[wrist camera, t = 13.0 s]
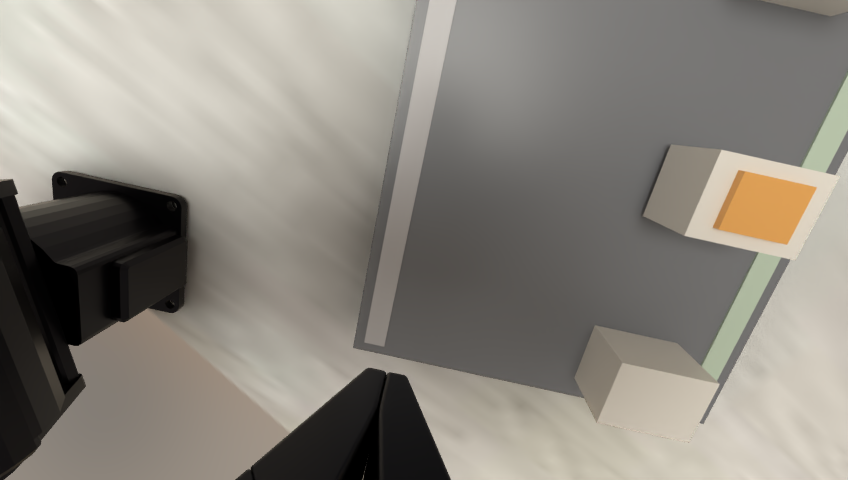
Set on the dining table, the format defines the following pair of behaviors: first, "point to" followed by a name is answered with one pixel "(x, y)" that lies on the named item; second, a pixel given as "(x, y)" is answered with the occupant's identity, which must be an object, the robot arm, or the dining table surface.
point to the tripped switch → (738, 199)
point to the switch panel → (590, 191)
